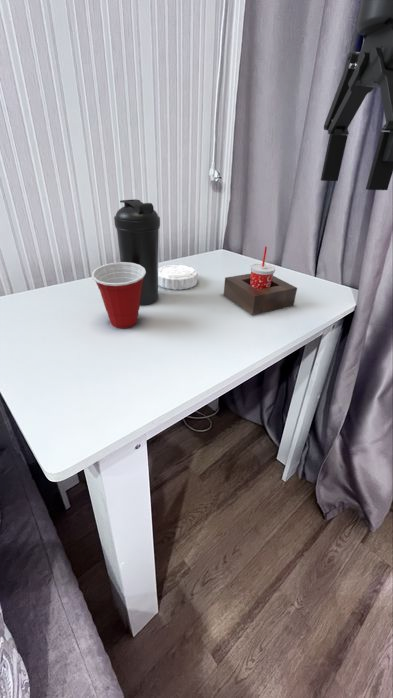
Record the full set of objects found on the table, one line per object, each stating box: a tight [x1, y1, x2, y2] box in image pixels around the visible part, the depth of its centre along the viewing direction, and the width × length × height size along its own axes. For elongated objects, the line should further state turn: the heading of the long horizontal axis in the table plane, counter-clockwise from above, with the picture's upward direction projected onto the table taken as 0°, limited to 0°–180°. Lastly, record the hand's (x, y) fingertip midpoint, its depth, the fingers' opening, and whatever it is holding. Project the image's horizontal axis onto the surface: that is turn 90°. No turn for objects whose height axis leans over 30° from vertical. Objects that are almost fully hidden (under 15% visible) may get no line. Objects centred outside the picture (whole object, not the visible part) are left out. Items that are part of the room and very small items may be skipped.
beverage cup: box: [249, 246, 276, 290], centre depth 83 cm, size 6×6×14 cm
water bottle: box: [113, 198, 161, 306], centre depth 79 cm, size 10×10×23 cm
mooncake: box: [158, 264, 199, 291], centre depth 94 cm, size 12×12×4 cm
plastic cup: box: [91, 261, 146, 329], centre depth 70 cm, size 11×11×12 cm
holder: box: [223, 273, 298, 316], centre depth 85 cm, size 13×13×5 cm
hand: (349, 185), depth 50 cm, fingers open, 13 cm apart
